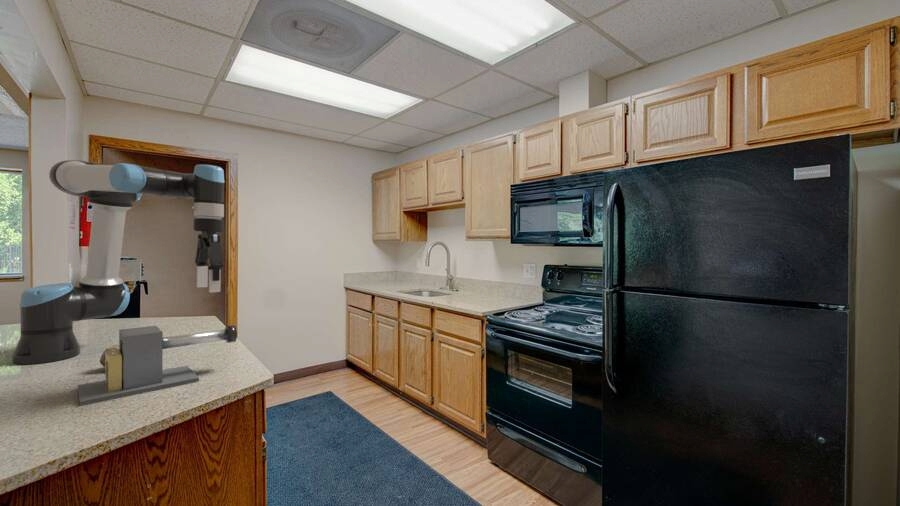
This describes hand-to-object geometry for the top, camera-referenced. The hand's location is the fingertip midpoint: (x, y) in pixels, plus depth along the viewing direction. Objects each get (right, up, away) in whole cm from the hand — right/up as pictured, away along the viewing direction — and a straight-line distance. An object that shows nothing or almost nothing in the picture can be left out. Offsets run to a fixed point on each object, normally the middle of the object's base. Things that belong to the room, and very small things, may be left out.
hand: (208, 289), depth 115 cm
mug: (-26, -24, +1) cm, 36 cm away
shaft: (-4, -17, -3) cm, 18 cm away
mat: (-12, -25, -11) cm, 29 cm away
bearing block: (-12, -25, -11) cm, 29 cm away
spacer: (-15, -24, -15) cm, 32 cm away
